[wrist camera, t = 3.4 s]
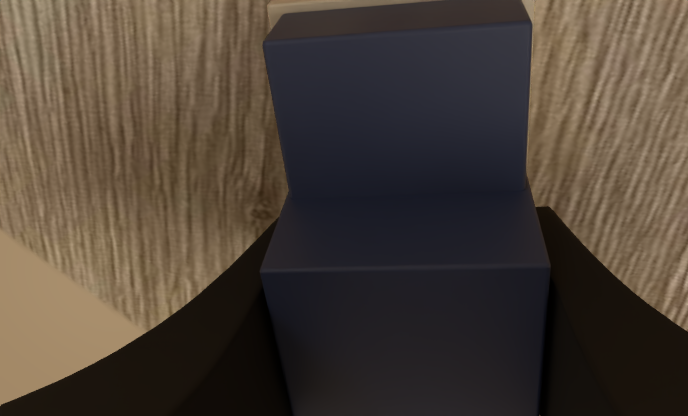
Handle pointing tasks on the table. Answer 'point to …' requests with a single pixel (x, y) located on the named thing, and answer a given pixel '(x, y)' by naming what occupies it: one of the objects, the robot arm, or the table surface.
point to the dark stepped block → (406, 208)
